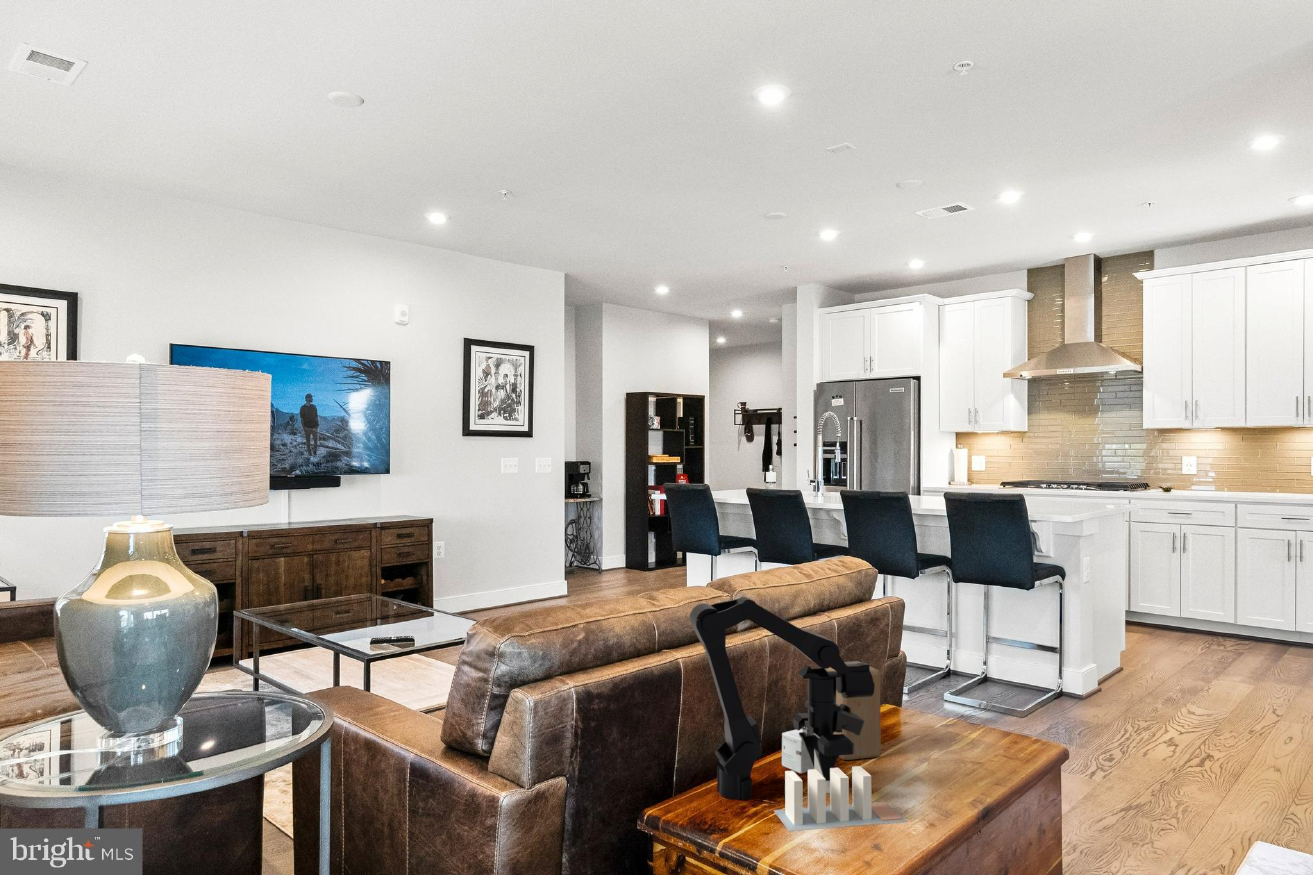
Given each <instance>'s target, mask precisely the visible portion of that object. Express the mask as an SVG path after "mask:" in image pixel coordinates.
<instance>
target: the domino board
mask: <svg viewBox="0 0 1313 875" xmlns="http://www.w3.org/2000/svg"><path fill="white" fill-rule="evenodd" d="M773 812H774V813H775V815H776V816H777V817H778V818H779V820H780V821H781V822H782V824H783V825H784V827H785V828H786V829H787V830H788V832H796V831H805V830H806V831H808V830H809V831H810V830H811V831H812V830H820V829H821V830H822V829H834V828H844V827H845V828H847V827H857V826H858V827H859V826H870V825H880V824H881V825H883V824H895V823H908V820H907V819H906V818H904V817H903V816H902V815H901V814H900V813H899V812H898V811H897V810H896V809H895V808H894V807H892V806H891V805H890V804H889V803H888V802H887V801H878V802H877V801H875V802H871V812H872V819H869V820H863V819H862V818H861V817H860V816H859V815H858V814H857V813H856V812H855V811H854V810H853V809H852V803H851V804H850V803H849V821H844V822H840V820H839V819H838V818H837V817H836V816H835V815H834V814H833V813H832V812H831V811H830V805H826V823H819V824H818V823H817V822H816V821H815V820H814V819H813V818H812V816H811V815H810V814H809V813H808V807H803V825H794V824H793V823H792V822H791V821H790V819H789V818H788V817H787V815H786V814H785V808H783V809H773Z"/></svg>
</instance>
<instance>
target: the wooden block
mask: <svg viewBox="0 0 1313 875" xmlns="http://www.w3.org/2000/svg"><path fill="white" fill-rule="evenodd" d="M844 663H845V664H858V663H863V662H862V661H859V660H856V661H855V660H853V661H844ZM826 671H835V670H834V669H832V668H831V667H830V668H827V669H826ZM870 672H871V674H872V678H873V682H874V685H875V687H874V693H873V695H872V696H871V697H855V698H844V697H843V696H842V695H841V693H838V692H837V690H836V704H837V705H839V706H840V705H841V704H844V705H847V706H849V707H850V708H851V713H854V714H855V715H857V716H859V717H860V718H862V719H863V720H864V724H863V727H862V730H861V733H860V735H855V733H853V732H849V731H846V730H844V729H842V732H840V733H837V732H834V734H844V735H845V736H846V737H847V738H848V739H850V740H851V741H852V742H853V743H854V754H853V755H840V756H839V757H838V758H839V759H841V760H844V761H851V760H859V759H870V758H876V757H877V758H878V757H880V756H881V753H882V750H881V749H882V748H881V747H882V745H881V742H882V741H881V740H882V739H881V738H882V737H881V727H882V726H881V673H880V670H879V669H877V668H874V667H873V666H870Z"/></svg>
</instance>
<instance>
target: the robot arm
mask: <svg viewBox="0 0 1313 875" xmlns="http://www.w3.org/2000/svg"><path fill="white" fill-rule="evenodd" d="M689 621H690V625H691V627H692V629H693V631H694V633H695V635H696V637H697V638H698V640H699V642H700V643H701V646H702V648H703V649H704V651H705V654H706V657H707V661H708V664H709V668H710V670H711V674H712V678H713V681H714V684H715V688H716V692H717V694H718V698H719V702H720V705H721V707H722V711H723V716H724V721H723V723H724V724H723V725H724V726H723V727H724V741H723V742H722V743H721V744H720V745H719V746H717V748H716V749H715V751H714V753H715V756H716V759H717V761H718V762H719V764H717V765H716V767H717V768H716V779H717V781H716V782H717V783H716V792H717V794H718V793H719V795H720V796H721V797H722V798H724V799H727V800H732V801H740V802H746V801H749V800H750V799H752V798H753V778H752V777H751V776H752V775H751V774H752V770H753V768H754V765H755V763H756V762H757V760H758V759H759V758H760V756H761V754H762V752H763V751H762V745H763V744H764V741H763V739H762V738H761V736H760V729H759V724H758V723H757V722H756V721H755V719H754V718H753V717H752V716H751V715H750V714H748V715H747V716H746V713H745V711H744V706H743V703H742V701H741V697H740V694H739V690H738V687H737V684H736V683H737V682H736V681H735V677H734V674H733V673H734V672H733V669H732V667H731V663H730V660H729V655H728V653H727V650H726V648H727V647H726V646H727V645H726V644H727V642H726V641H727V640H726V639H727V634H726V633H727V632H726V630H728V629H730V628H732V627H735V626H737V625H738V624H740V623H742V622H745V621H750V622H752V623H754V624H755V625H757V626H759V627H761V628H762V629H764V630H766V631H767V632H769V633H770V634H773V635H774V636H776V637H778V638H780V639H782V640H783V641H785V642H787V643H789V644H790V645H791V646H793V647H794V648H795V649H796V650H797V651H798V652H800V653H801V654H802V655H803V656H805V657H806V659H808V660H810V661H811V662H813V663H814V664H815V665H817V667H811V665H809V664H804V665H803V667H801V669H800V670H798V671H797V675H799V676H800V677H801V678H802V679H805V680H806V679H807V700H805V701H804V706H805V707H806V708H807V712H802V713H801V712H798V713H796V714H795V716H794V717H793V719H792V720H793V724H792V725H793V728H794V730H796V729H797V730H800V729H803V732H800V733H799V736H800V737H801V739H802V741H803V744H804V746H805V748H806V750H807V753H808V755H809V758H810V760H811V762H812V765H813V767H814V750H815V753H816V756H817V759H818V762H819V765H820V768H821V771H822V774H823V777H824V778H825V779H826V781H830V768H835V766H836V763H837V760H838V758H840V757H839V756H840V755H853V754H854V743H853V742H852V741H851V740H850V739H848V738H847V737H846V736H845V735H844V734H834V732H837V733H840V732H842V729H844V730H846V731H849V732H853V733H855V735H860V733H861V730H862V727H863V724H864V720H863V719H862V718H860V717H859V716H857V715H855V714H854V713H851V708H850V707H849V706H847V705H844V704H841V705H840V706H839V705H837V704H836V690H837V692H838V693H841V695H842V696H843V697H844V698H855V697H871V696H872V695H873V693H874V687H875V685H874V682H873V678H872V674H871V672H870V667H871V666H870V665H869V664H868V663H867V662H862V663H858V664H845V663H844V662H845V661H844V660H843V658H842V657H841V656H840V654H841V653H840V649H839V648H840V647H839V646H838V644H837V643H835V642H834V641H833V640H831V639H830V638H828V637H825V635H823V634H820V633H817V632H814V631H811V630H808V629H804V628H801V627H798V626H796V625H794V624H792V623H791V622H789V621H787V620H785V619H784V618H782V617H780V616H778V615H777V614H774V612H771V611H770V610H768V609H766V608H764V607H762V606H761V605H759V604H757V603H756V602H755V601H754V600H753V599H751V598H750V597H748V596H742V597H739V598H735V599H731V600H727V601H726V600H725V601H722V602H721V601H720V602H716V603H713V604H709V603H698V604H696V605H695V606H694V607H693V608H692V610H691V611H690V613H689ZM830 667H831V668H832V669H834V670H835V671H826V669H827V668H830Z"/></svg>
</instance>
